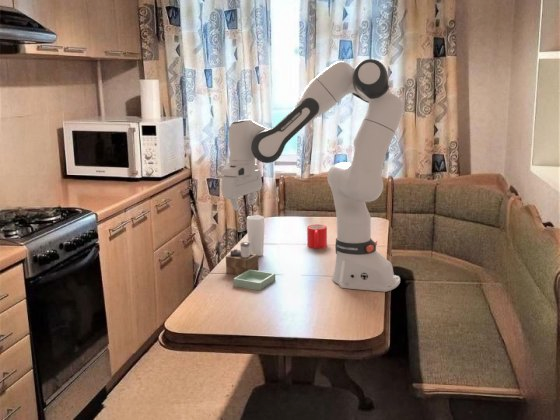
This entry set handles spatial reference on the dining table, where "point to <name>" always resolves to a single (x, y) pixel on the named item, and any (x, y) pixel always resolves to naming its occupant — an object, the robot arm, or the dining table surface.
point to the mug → (317, 236)
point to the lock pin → (245, 250)
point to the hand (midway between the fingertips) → (243, 207)
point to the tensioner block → (240, 262)
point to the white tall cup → (256, 234)
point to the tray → (254, 279)
